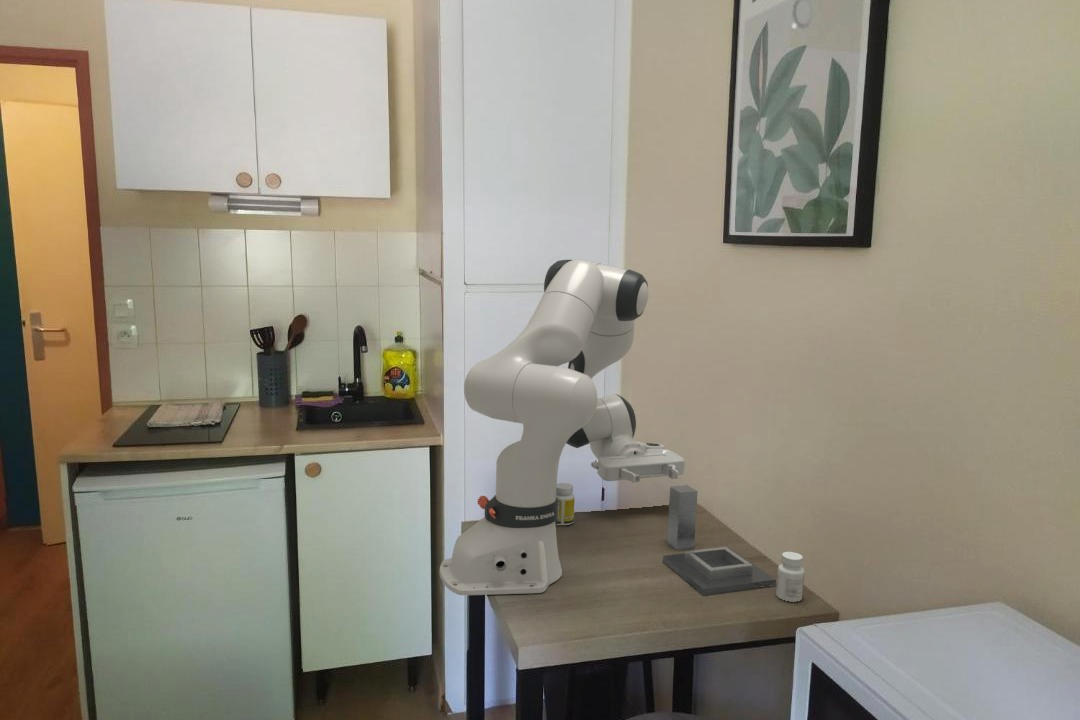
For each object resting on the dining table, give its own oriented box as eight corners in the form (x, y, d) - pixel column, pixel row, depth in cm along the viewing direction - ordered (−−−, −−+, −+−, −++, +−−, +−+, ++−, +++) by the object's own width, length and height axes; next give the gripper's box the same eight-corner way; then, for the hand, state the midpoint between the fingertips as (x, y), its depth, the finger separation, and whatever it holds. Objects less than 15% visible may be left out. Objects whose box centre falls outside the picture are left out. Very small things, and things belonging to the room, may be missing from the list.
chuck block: (703, 595, 133) (704, 579, 133) (662, 561, 147) (663, 546, 147) (775, 585, 138) (776, 570, 138) (729, 553, 152) (730, 539, 152)
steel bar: (676, 550, 153) (679, 492, 151) (666, 542, 157) (670, 486, 155) (693, 548, 154) (697, 491, 153) (684, 540, 158) (687, 485, 156)
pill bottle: (807, 599, 133) (811, 557, 132) (790, 605, 131) (793, 562, 130) (787, 589, 137) (790, 548, 136) (770, 594, 134) (773, 553, 133)
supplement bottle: (574, 519, 168) (575, 483, 167) (573, 527, 164) (574, 489, 163) (552, 518, 169) (553, 481, 168) (550, 525, 164) (552, 488, 163)
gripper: (588, 449, 175) (613, 466, 162) (667, 443, 181) (697, 459, 168) (587, 475, 176) (612, 495, 163) (666, 468, 182) (696, 487, 169)
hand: (656, 477), depth 166 cm, fingers open, 8 cm apart
